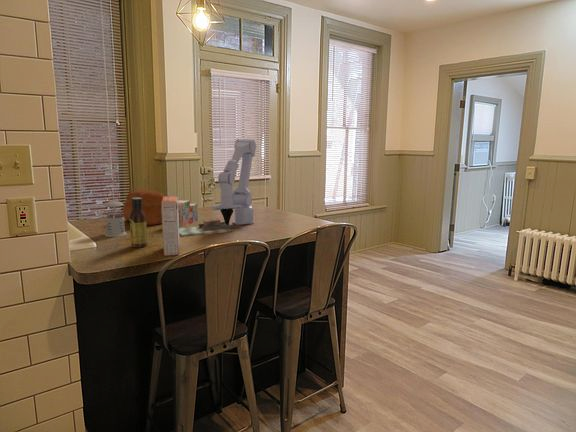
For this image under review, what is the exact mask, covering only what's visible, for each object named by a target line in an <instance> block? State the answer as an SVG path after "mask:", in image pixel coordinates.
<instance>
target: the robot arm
mask: <svg viewBox="0 0 576 432" xmlns="http://www.w3.org/2000/svg"><path fill="white" fill-rule="evenodd" d="M256 149H257V144H256V141H255V139H253V138H251V139H249V138H247V139H245V138H237V139H235V142H234V151H233V155H232V157H231V159H229V160H228V161H227V163H226V165H225V167H224V169H223V170H222V172H221V171H220V173H219V175H218V181H217V182H218V184H219V187H220V204H218V205H211V210H212V211H220V213H221V215H222V217H223V222H225V224H229V225H230V220H231V218H232V215H233V213H234V220H233V221H231V223H233V224H235V225H237V226H238V225H250V224H251V225H252V224H255V222H254V208H253V207H252V206H251V205H252V203H253V197H252V196H253V193H252V191H251V190H249V183H250V182H249V181H250V175H251V170H252V164H253V163H252V162H253V158H254V157H255V155H256V151H257V150H256ZM241 158H242V159H241ZM240 160H242V162H241V167H240V165H239V162H240ZM239 167H240V173H239V179H238V186H237V187H236V188H235V189H233V185H234V183H235V181H236V174H237V170H238V169H239Z"/></svg>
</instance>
